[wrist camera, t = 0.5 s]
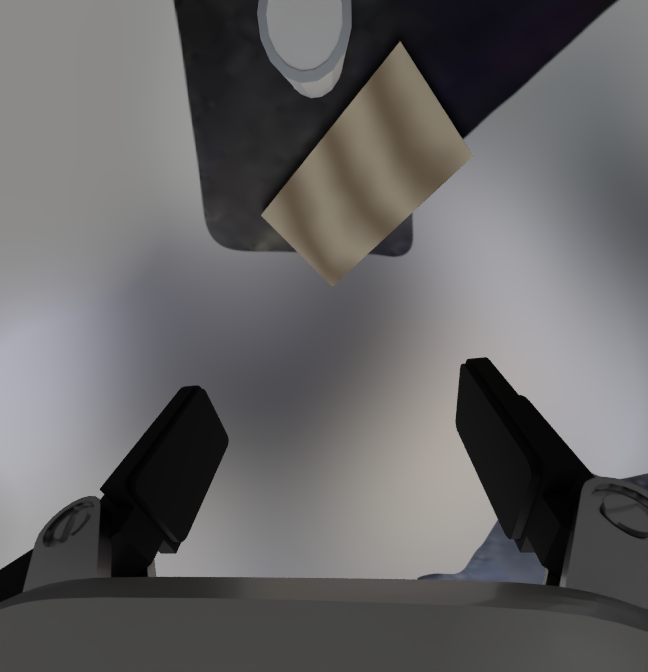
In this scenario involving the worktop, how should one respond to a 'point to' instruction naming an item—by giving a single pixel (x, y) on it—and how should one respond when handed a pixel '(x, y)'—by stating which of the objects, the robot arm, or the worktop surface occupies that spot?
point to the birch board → (368, 170)
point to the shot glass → (306, 41)
